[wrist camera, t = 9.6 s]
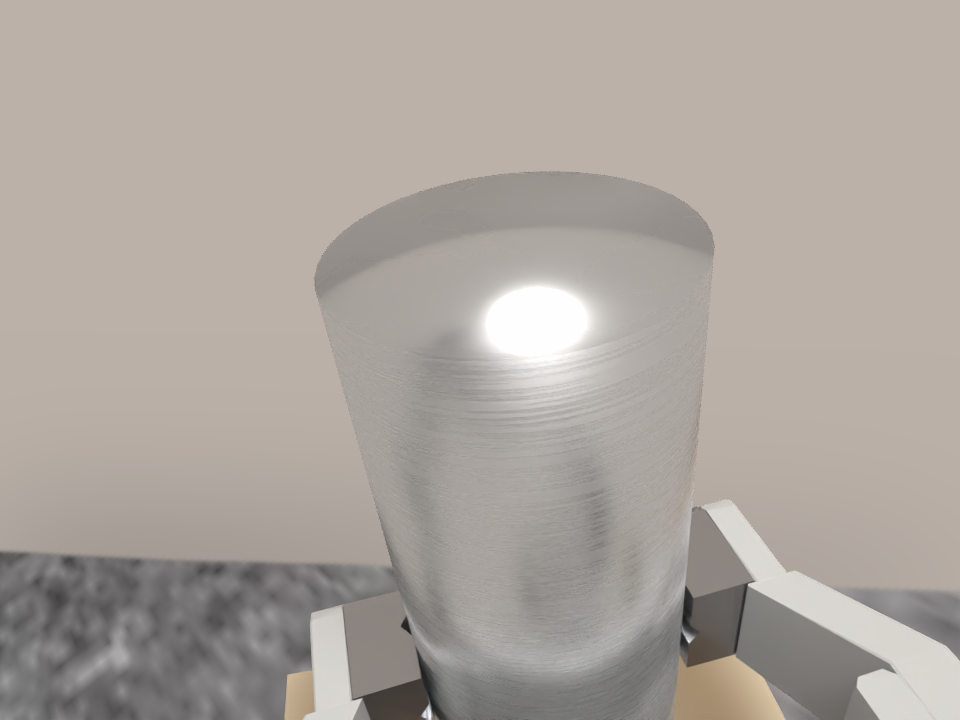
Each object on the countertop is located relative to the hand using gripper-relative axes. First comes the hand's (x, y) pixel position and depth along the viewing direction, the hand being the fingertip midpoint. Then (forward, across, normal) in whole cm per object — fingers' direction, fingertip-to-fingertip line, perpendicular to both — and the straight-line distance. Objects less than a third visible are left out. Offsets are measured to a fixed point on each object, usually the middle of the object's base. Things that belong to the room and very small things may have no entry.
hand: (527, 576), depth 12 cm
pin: (-1, 0, +10) cm, 10 cm away
